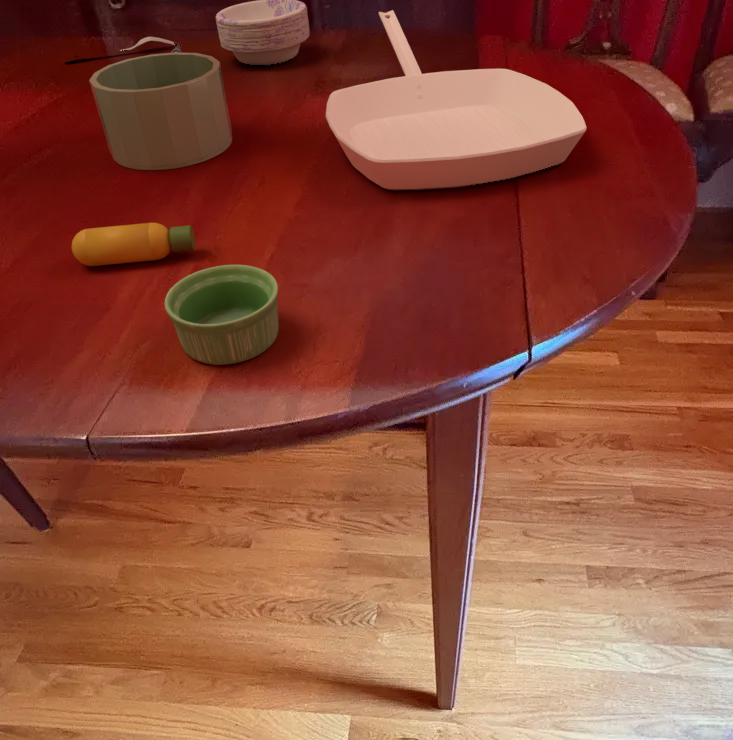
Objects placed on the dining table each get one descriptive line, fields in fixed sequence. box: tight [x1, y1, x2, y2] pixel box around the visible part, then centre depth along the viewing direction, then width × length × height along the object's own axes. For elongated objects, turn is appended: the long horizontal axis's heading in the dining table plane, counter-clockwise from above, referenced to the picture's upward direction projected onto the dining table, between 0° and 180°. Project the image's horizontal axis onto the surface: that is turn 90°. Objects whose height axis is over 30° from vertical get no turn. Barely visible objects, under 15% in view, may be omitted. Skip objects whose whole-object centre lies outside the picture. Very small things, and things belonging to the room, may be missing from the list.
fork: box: [119, 36, 175, 51], centre depth 132 cm, size 3×21×3 cm, turn 108°
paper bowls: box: [215, 0, 311, 66], centre depth 122 cm, size 15×15×8 cm
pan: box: [325, 9, 588, 191], centre depth 92 cm, size 29×45×9 cm, turn 13°
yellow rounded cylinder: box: [71, 222, 197, 267], centre depth 70 cm, size 12×4×4 cm, turn 95°
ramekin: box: [164, 264, 280, 366], centre depth 59 cm, size 9×9×4 cm
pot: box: [88, 52, 233, 171], centre depth 92 cm, size 16×16×10 cm
